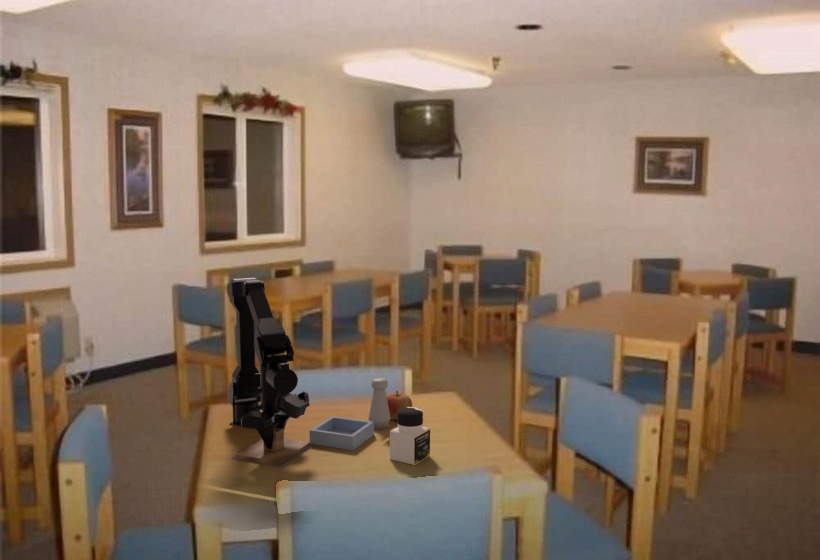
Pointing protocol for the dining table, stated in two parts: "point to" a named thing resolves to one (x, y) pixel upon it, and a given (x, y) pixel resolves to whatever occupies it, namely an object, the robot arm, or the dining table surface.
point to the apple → (397, 403)
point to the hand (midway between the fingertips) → (273, 445)
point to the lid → (274, 449)
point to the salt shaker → (379, 404)
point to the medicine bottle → (410, 437)
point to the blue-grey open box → (342, 432)
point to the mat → (285, 462)
